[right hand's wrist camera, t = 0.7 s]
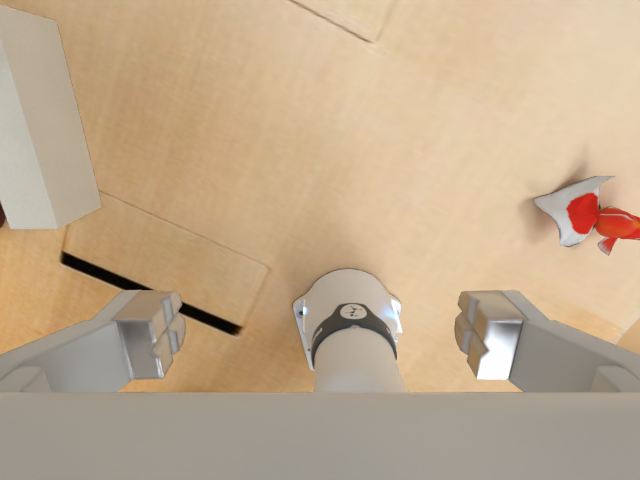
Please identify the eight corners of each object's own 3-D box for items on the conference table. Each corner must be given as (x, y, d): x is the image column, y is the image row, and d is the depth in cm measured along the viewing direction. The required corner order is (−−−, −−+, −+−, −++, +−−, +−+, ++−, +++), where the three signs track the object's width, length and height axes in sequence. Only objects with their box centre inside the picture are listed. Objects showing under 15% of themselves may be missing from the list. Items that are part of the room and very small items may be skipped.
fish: (600, 281, 55) (646, 279, 45) (507, 226, 59) (531, 213, 49) (639, 225, 55) (693, 210, 45) (544, 173, 59) (575, 149, 49)
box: (102, 207, 55) (58, 229, 46) (62, 207, 55) (10, 229, 46) (56, 20, 46) (-11, 1, 37) (8, 21, 46) (-71, 1, 37)
